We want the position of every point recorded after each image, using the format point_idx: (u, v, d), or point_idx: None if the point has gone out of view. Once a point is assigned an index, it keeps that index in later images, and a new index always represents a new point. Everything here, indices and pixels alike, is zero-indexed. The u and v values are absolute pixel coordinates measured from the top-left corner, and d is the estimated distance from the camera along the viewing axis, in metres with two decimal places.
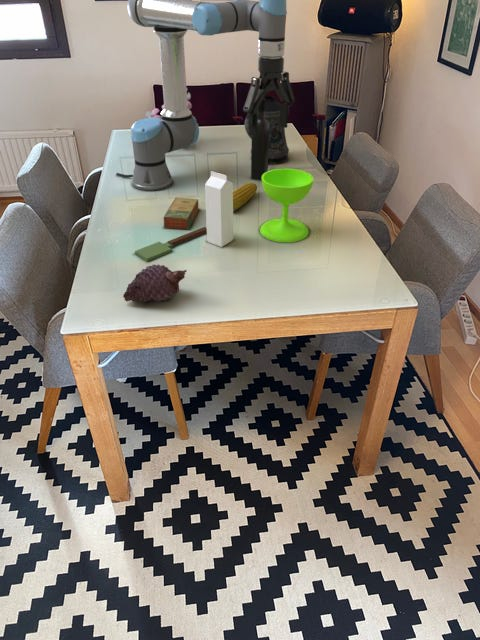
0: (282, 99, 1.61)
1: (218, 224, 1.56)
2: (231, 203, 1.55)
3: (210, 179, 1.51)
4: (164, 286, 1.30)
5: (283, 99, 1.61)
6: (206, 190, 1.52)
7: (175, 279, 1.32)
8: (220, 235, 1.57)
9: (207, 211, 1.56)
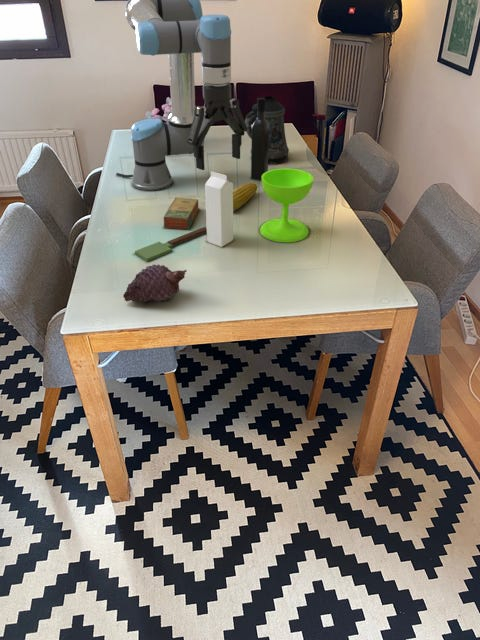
0: (233, 128, 1.46)
1: (218, 224, 1.56)
2: (231, 203, 1.55)
3: (210, 179, 1.51)
4: (164, 286, 1.30)
5: (234, 128, 1.46)
6: (206, 190, 1.52)
7: (175, 279, 1.32)
8: (220, 235, 1.57)
9: (207, 211, 1.56)
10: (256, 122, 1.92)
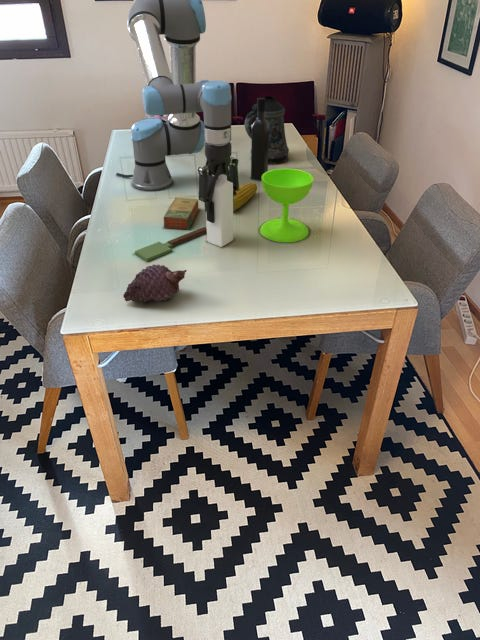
0: None
1: (218, 224, 1.56)
2: (231, 203, 1.55)
3: None
4: (164, 286, 1.30)
5: None
6: None
7: (175, 279, 1.32)
8: (220, 235, 1.57)
9: None
10: (256, 122, 1.92)
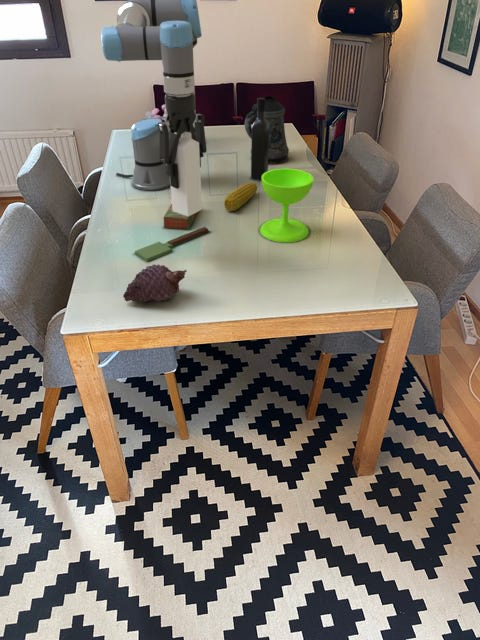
0: None
1: (183, 190, 1.38)
2: (197, 166, 1.38)
3: None
4: (164, 286, 1.30)
5: None
6: None
7: (175, 279, 1.32)
8: (186, 202, 1.40)
9: None
10: (256, 122, 1.92)
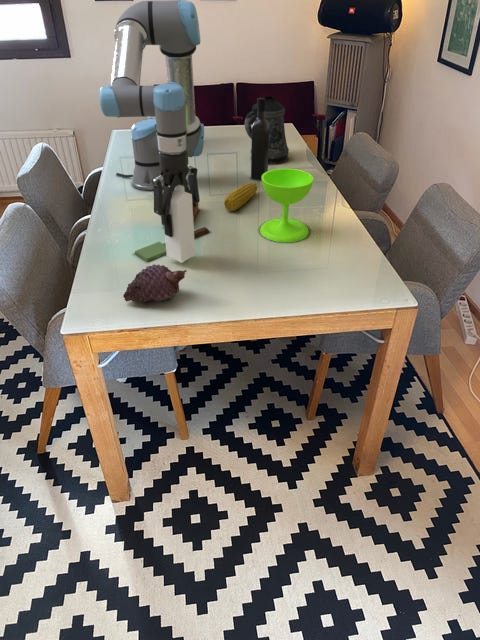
0: None
1: (177, 239, 1.44)
2: (191, 216, 1.43)
3: None
4: (164, 286, 1.30)
5: None
6: None
7: (175, 279, 1.32)
8: (180, 250, 1.45)
9: None
10: (256, 122, 1.92)
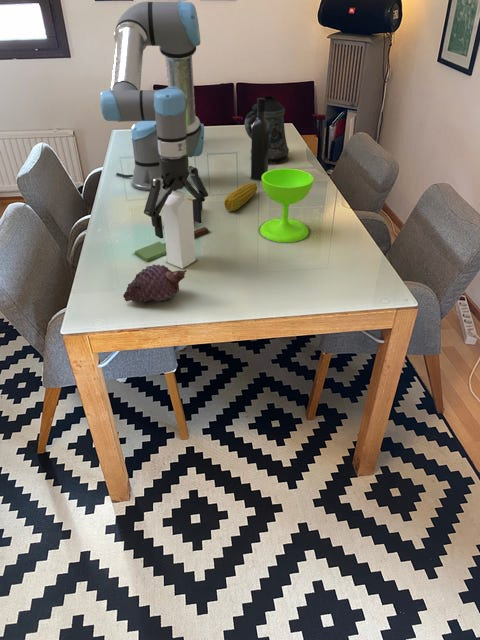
0: (193, 195, 1.44)
1: (177, 245, 1.45)
2: (191, 222, 1.45)
3: (168, 197, 1.41)
4: (164, 286, 1.30)
5: (194, 195, 1.44)
6: (163, 209, 1.41)
7: (175, 279, 1.32)
8: (180, 256, 1.47)
9: (165, 230, 1.45)
10: (256, 122, 1.92)
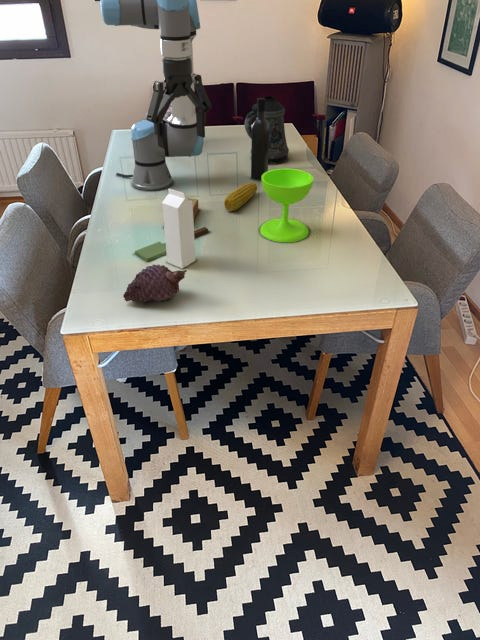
0: (196, 105, 1.41)
1: (177, 245, 1.45)
2: (191, 222, 1.45)
3: (168, 197, 1.41)
4: (164, 286, 1.30)
5: (197, 105, 1.41)
6: (163, 209, 1.41)
7: (175, 279, 1.32)
8: (180, 256, 1.47)
9: (165, 230, 1.45)
10: (256, 122, 1.92)
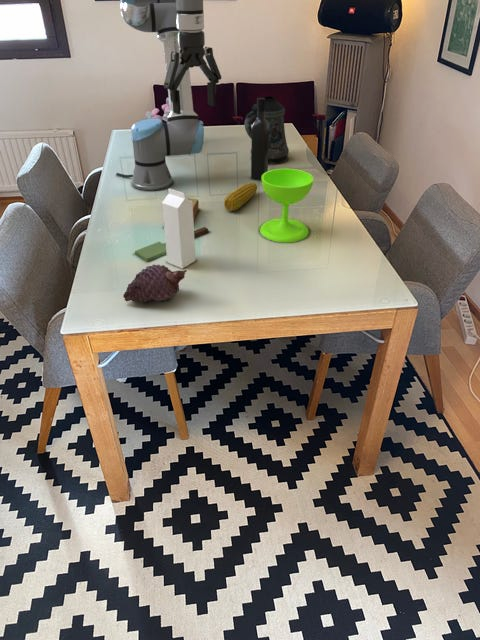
0: (208, 76, 1.56)
1: (177, 245, 1.45)
2: (191, 222, 1.45)
3: (168, 197, 1.41)
4: (164, 286, 1.30)
5: (209, 76, 1.56)
6: (163, 209, 1.41)
7: (175, 279, 1.32)
8: (180, 256, 1.47)
9: (165, 230, 1.45)
10: (256, 122, 1.92)
